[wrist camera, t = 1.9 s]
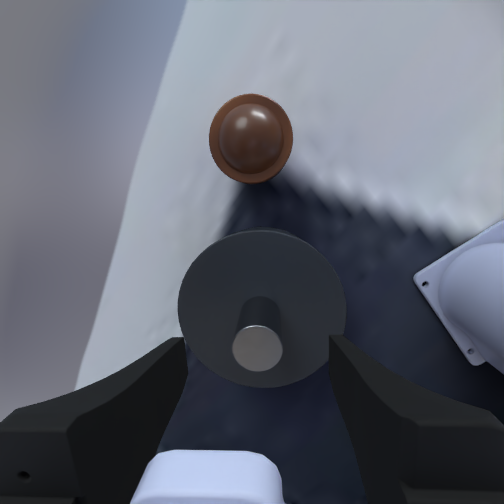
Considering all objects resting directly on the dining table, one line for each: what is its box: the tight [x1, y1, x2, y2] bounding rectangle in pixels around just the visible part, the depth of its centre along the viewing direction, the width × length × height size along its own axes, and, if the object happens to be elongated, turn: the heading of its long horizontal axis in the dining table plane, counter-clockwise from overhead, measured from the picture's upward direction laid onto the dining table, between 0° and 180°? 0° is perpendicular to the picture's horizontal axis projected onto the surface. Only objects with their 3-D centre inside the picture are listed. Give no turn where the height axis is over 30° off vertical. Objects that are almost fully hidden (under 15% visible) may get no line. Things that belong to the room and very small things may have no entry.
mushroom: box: [209, 94, 293, 184], centre depth 17 cm, size 5×5×6 cm
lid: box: [178, 230, 347, 388], centre depth 16 cm, size 11×11×5 cm
